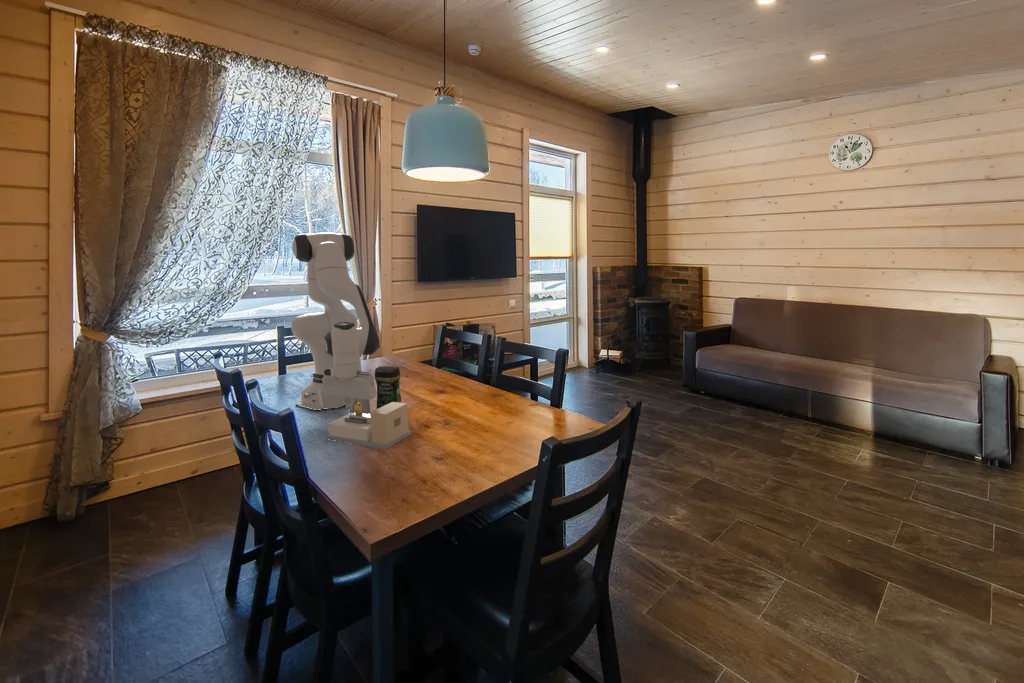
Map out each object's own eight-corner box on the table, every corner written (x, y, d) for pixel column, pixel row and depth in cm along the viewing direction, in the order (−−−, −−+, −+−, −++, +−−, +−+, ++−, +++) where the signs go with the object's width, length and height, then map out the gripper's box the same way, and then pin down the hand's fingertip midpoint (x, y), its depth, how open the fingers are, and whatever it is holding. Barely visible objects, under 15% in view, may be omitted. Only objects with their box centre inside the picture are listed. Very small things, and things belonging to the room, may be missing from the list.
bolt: (349, 420, 167) (347, 403, 166) (355, 417, 170) (353, 401, 169) (373, 423, 164) (371, 406, 163) (378, 420, 166) (377, 403, 165)
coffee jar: (374, 415, 191) (370, 368, 187) (381, 408, 198) (378, 364, 195) (398, 415, 189) (395, 369, 186) (404, 409, 197) (402, 364, 194)
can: (349, 415, 190) (347, 385, 188) (369, 413, 193) (367, 383, 191) (350, 421, 184) (348, 390, 181) (371, 418, 186) (369, 388, 184)
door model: (327, 440, 166) (324, 407, 163) (355, 426, 178) (352, 396, 176) (385, 449, 156) (383, 415, 154) (410, 434, 169) (408, 402, 167)
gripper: (378, 370, 165) (381, 409, 167) (331, 366, 172) (334, 403, 175) (366, 374, 159) (369, 415, 161) (318, 370, 167) (321, 409, 169)
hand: (351, 409), depth 168 cm, fingers closed
